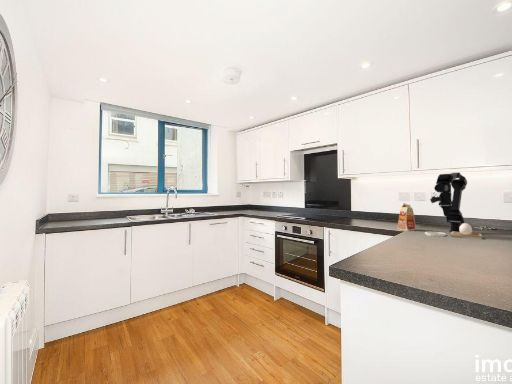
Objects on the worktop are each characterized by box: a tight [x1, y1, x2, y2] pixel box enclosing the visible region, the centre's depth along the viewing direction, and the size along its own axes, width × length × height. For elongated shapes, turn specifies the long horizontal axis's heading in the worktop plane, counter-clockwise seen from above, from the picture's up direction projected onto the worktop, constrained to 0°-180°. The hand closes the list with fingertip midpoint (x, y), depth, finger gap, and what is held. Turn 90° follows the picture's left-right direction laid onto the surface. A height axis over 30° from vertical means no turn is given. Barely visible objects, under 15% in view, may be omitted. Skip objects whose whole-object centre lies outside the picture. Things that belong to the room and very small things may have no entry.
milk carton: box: [396, 202, 417, 231], centre depth 183 cm, size 9×9×20 cm
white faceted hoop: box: [424, 231, 446, 237], centre depth 157 cm, size 11×11×1 cm
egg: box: [459, 222, 473, 235], centre depth 150 cm, size 6×6×8 cm
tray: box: [450, 231, 482, 240], centre depth 150 cm, size 12×14×2 cm
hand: (446, 215), depth 162 cm, fingers open, 9 cm apart
